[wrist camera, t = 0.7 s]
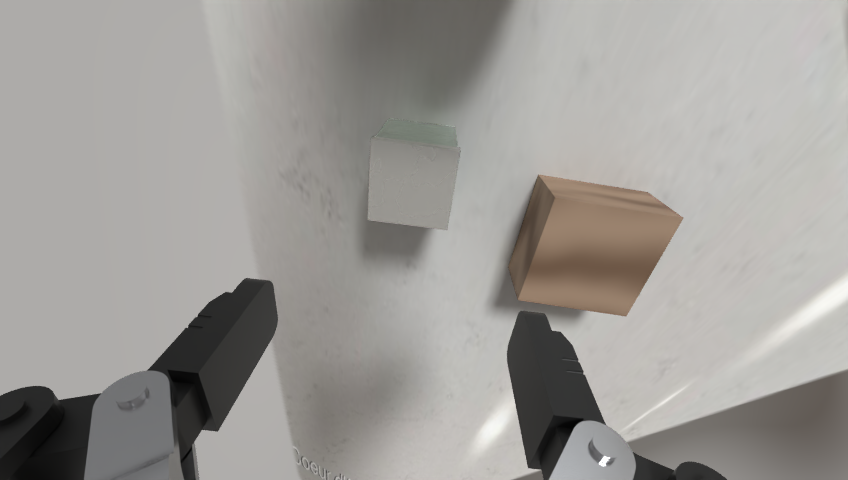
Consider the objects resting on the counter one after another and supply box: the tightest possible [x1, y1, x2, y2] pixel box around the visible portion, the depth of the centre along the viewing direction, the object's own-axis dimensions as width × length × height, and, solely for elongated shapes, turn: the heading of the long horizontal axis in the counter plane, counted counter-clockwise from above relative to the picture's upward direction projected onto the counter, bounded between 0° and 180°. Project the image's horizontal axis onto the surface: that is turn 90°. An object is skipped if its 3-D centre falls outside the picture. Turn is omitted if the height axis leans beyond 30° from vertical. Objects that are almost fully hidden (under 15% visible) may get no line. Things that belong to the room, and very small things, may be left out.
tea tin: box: [368, 118, 460, 230], centre depth 24 cm, size 5×5×7 cm
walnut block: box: [508, 175, 683, 316], centre depth 28 cm, size 9×9×5 cm
